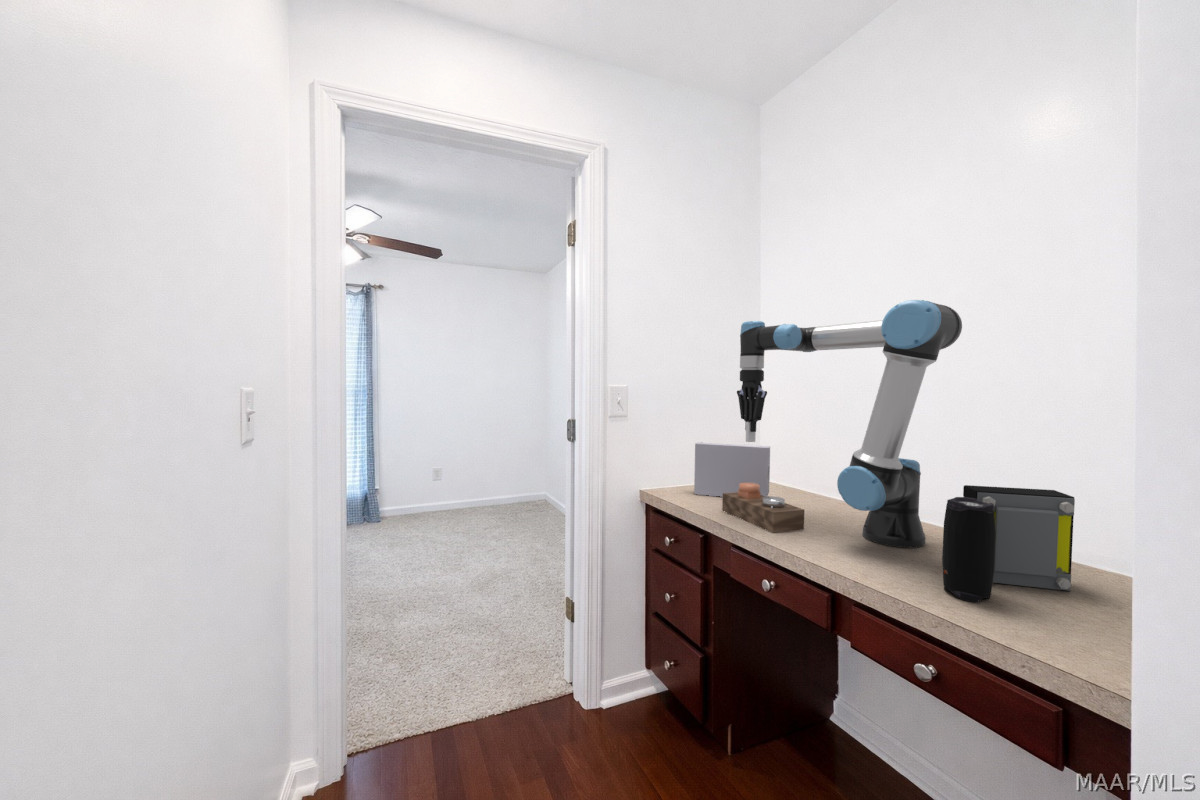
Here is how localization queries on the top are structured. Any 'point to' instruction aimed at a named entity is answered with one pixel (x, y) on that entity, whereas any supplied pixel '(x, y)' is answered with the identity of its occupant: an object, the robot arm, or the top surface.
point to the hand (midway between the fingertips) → (750, 441)
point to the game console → (730, 468)
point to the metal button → (773, 502)
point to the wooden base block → (764, 513)
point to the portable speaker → (969, 548)
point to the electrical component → (1030, 535)
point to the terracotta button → (749, 490)
